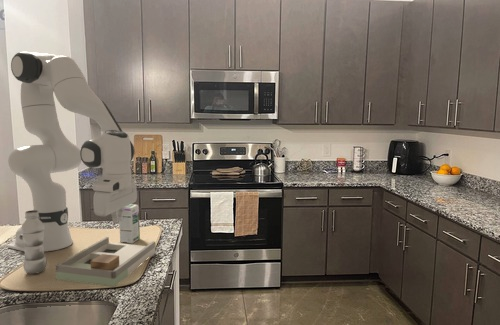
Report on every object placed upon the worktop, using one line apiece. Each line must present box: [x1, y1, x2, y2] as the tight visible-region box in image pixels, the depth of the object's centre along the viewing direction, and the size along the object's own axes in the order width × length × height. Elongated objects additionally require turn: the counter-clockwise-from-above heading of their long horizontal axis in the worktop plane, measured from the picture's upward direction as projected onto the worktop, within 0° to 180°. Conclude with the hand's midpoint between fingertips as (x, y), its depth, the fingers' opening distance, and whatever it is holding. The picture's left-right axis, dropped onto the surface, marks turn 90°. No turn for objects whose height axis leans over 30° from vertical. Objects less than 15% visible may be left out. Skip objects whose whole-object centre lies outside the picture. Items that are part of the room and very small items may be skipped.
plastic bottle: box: [20, 209, 48, 275], centre depth 119 cm, size 6×7×20 cm
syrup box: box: [118, 203, 141, 244], centre depth 149 cm, size 6×6×14 cm
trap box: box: [54, 236, 156, 287], centre depth 126 cm, size 20×27×4 cm
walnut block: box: [90, 254, 119, 270], centre depth 116 cm, size 6×6×4 cm
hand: (117, 221), depth 123 cm, fingers closed
